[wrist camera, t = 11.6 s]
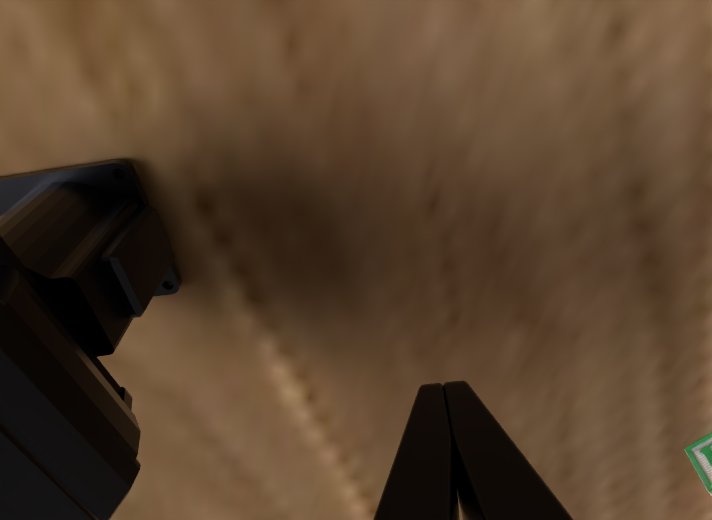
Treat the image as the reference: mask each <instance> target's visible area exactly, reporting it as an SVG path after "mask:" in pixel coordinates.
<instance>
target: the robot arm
mask: <svg viewBox="0 0 712 520" xmlns="http://www.w3.org/2000/svg"><path fill="white" fill-rule="evenodd" d="M116 169H121V170H122V171H123V172H124V173H125V176H121V175H119V174H118V173H117V171H116ZM174 258H175V255H174V253H173V250H172V248H171V246H170V243H169V241H168V239H167V236H166V234H165V231H164V229H163V227H162V224H161V222H160V219H159V217H158V215H157V212H156V210H155V209H154V208H153V207H152V206H151V205H150V204H149V202H148V200H147V197H146V195H145V193H144V190H143V188H142V186H141V183H140V181H139V178H138V176H137V174H136V171H135V169H134V167H133V166H132V164H130V163H129V162H128V161H126V160H123V159H114V160H108V161H101V162H95V163H89V164H82V165H76V166H69V167H63V168H57V169H50V170H44V171H37V172H31V173H25V174H18V175H12V176H5V177H0V520H110V518H111V517H112V515H113V514H114V513H115V511H116V510H117V508H118V507H119V506H120V504H121V503H122V501H123V500H124V498H125V497H126V496H127V494H128V493H129V491H130V489H131V487H132V485H133V483H134V481H135V478H136V476H137V474H138V472H139V470H140V466H141V465H140V463H139V461H138V460H137V459H136V457H137V455H138V447H139V440H140V429H139V426H138V423H137V420H136V417H135V415H134V414H133V413H132V411H131V408H132V397H131V395H130V394H129V393H128V392H127V390H126V389H125V388H124V387H120V386H119V385H118V384H117V382H116V381H115V380H114V379H113V377H112V376H111V375H110V374H109V372H108V371H107V370H106V368H105V367H104V366H103V365H102V363H101V362H100V361H99V360H98V358H97V357H98V356H104V355H110V354H113V352H114V351H115V349H116V347H117V346H118V344H119V342H120V340H121V339H122V337H123V335H124V333H125V332H126V330H127V328H128V327H129V325H130V323H131V321H132V320H133V318H136V317H141V316H142V314H143V313H144V311H145V310H146V308H147V306H148V304H149V302H150V301H151V299H152V297H153V296H161V295H169V294H174V293H176V292H177V291H178V290H179V288H180V286H181V283H182V282H181V278H180V275H179V273H178V271H177V268H176V266H175V264H174V261H173V260H174ZM166 281H170V282H172V284H173V285H170V284H168V283H167V282H166ZM457 492H458V494H457ZM458 498H459V503H460V508H461V512H462V516H463V520H573V518H572V517H571V516H570V515H569V513H568V512H567V511H566V509H565V508H564V507H563V506H562V504H561V503H560V502H559V500H558V499H557V498H556V497H555V495H554V494H553V493H552V491H551V490H550V489H549V487H548V486H547V485H546V484H545V482H544V481H543V480H542V478H541V477H540V476H539V475H538V473H537V472H536V471H535V469H534V468H533V467H532V466H531V464H530V463H529V462H528V460H527V459H526V458H525V457H524V455H523V454H522V453H521V451H520V450H519V449H518V448H517V446H516V445H515V444H514V442H513V441H512V440H511V438H510V437H509V436H508V435H507V433H506V432H505V431H504V429H503V428H502V427H501V426H500V424H499V423H498V422H497V420H496V419H495V418H494V417H493V415H492V414H491V413H490V411H489V410H488V409H487V408H486V406H485V405H484V404H483V402H482V401H481V400H480V399H479V397H478V396H477V395H476V393H475V392H474V391H473V389H472V388H471V387H470V386H469V384H468V383H467V382H465V381H454V382H446V383H445V384H444V385H442V384H440V383H434V384H425V385H421V386H420V388H419V390H418V393H417V396H416V399H415V402H414V404H413V407H412V410H411V413H410V416H409V419H408V422H407V425H406V427H405V430H404V433H403V436H402V439H401V442H400V445H399V448H398V450H397V453H396V456H395V459H394V462H393V465H392V468H391V471H390V473H389V476H388V479H387V482H386V485H385V488H384V491H383V494H382V496H381V499H380V502H379V505H378V508H377V511H376V514H375V517H374V519H373V520H459V504H458Z"/></svg>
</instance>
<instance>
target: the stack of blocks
mask: <svg viewBox="0 0 712 520" xmlns="http://www.w3.org/2000/svg"><path fill="white" fill-rule="evenodd" d="M685 452H686V454H687V455H688V457H689V459H690V460H691V462H692V464H693V466H694V468H695V470H696V472H697V473H698V475H699V477H700V478H701V480H702V482H703V484H704V486H705V487H706V489H707V491H708V493H709V494H710V495H711V496H712V433H711V434H709V435H707V436H705V437H704V438H702V439H700V440H699V441H697V442H695V443H694V444H692V445H690V446H688V447H687V448H685Z"/></svg>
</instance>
